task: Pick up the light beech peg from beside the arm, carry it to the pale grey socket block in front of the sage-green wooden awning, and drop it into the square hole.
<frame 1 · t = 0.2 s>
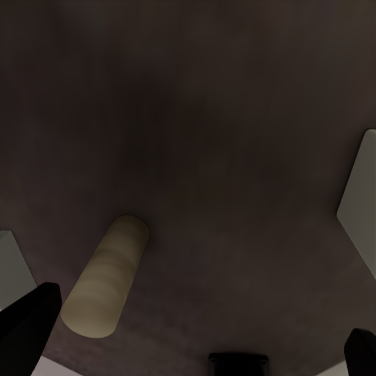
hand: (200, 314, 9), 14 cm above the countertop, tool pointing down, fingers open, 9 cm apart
peg: (129, 231, 26), on the countertop
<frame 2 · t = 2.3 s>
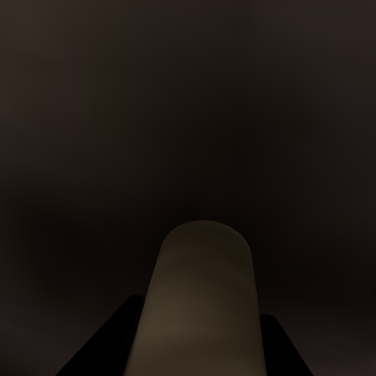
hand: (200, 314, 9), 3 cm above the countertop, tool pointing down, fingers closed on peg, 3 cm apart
peg: (205, 258, 11), on the countertop, touching gripper
when the fingers open (5 cm above the countertop, at t = 7.0 s): peg drops 3 cm, resting in socket block.
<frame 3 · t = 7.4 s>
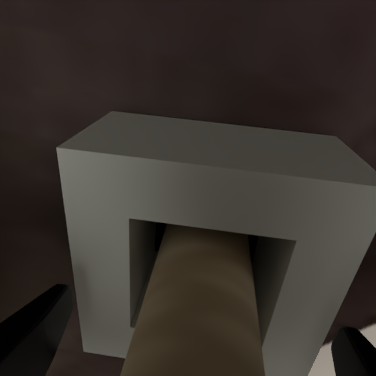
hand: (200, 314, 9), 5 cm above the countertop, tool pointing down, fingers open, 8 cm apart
socket block: (208, 216, 14), on the countertop
peg: (207, 216, 14), resting in socket block
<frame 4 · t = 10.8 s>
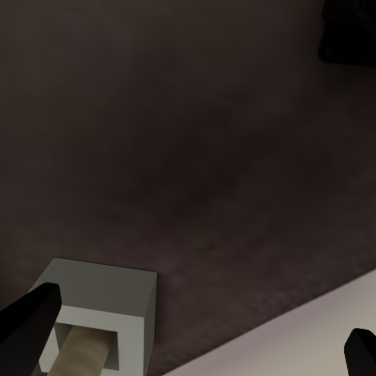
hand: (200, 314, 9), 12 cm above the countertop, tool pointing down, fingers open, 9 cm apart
socket block: (107, 301, 27), on the countertop
peg: (107, 301, 27), resting in socket block
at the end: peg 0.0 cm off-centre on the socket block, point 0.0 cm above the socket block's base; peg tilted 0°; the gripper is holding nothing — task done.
